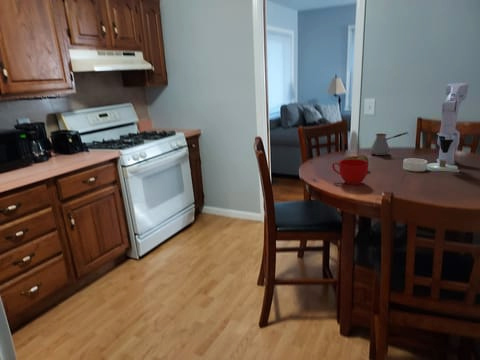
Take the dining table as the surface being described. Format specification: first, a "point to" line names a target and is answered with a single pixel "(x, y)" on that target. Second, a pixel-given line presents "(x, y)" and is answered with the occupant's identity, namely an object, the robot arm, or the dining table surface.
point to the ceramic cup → (352, 170)
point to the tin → (357, 157)
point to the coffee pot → (382, 144)
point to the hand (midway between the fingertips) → (444, 151)
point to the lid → (442, 166)
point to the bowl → (414, 164)
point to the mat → (448, 171)
